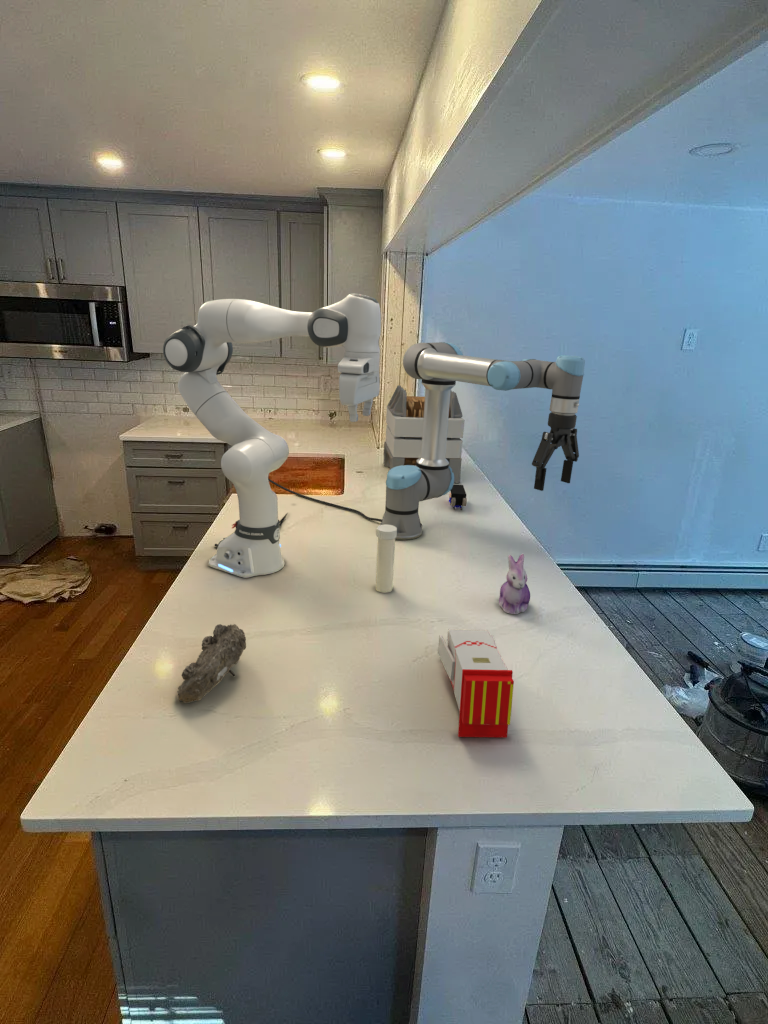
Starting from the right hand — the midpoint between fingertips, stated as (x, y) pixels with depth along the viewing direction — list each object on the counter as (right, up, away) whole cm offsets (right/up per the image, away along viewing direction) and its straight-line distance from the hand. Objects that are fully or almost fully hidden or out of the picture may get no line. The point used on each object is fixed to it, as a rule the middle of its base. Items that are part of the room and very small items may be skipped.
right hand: (552, 485), depth 166 cm
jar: (-49, -29, -5) cm, 57 cm away
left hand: (-55, +17, -19) cm, 61 cm away
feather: (-86, -9, +46) cm, 98 cm away
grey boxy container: (-32, +11, +109) cm, 115 cm away
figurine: (-14, -33, -12) cm, 38 cm away
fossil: (-85, -42, -45) cm, 105 cm away
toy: (-31, -45, -47) cm, 72 cm away
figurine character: (-20, -5, +65) cm, 68 cm away
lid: (-48, -12, -11) cm, 51 cm away
